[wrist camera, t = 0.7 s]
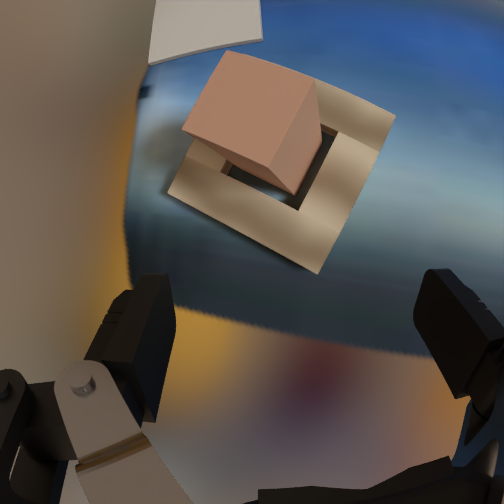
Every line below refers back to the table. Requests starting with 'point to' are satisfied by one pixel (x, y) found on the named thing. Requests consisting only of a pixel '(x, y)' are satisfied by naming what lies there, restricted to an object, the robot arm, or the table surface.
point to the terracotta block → (259, 119)
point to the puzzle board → (319, 195)
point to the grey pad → (202, 27)
